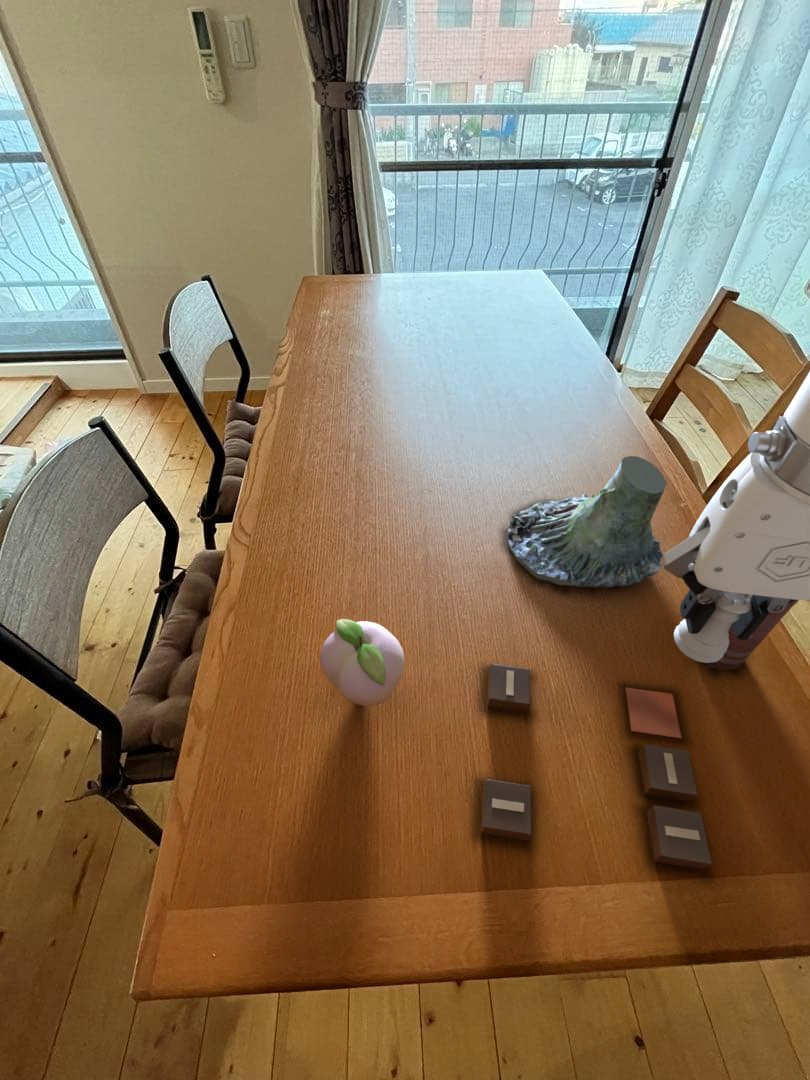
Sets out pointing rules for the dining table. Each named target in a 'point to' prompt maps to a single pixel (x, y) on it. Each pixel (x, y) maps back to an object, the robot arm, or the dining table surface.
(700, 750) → the dining table surface
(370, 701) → the decorative fruit
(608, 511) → the tree stump
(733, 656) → the can
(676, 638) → the rook chess piece
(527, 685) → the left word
